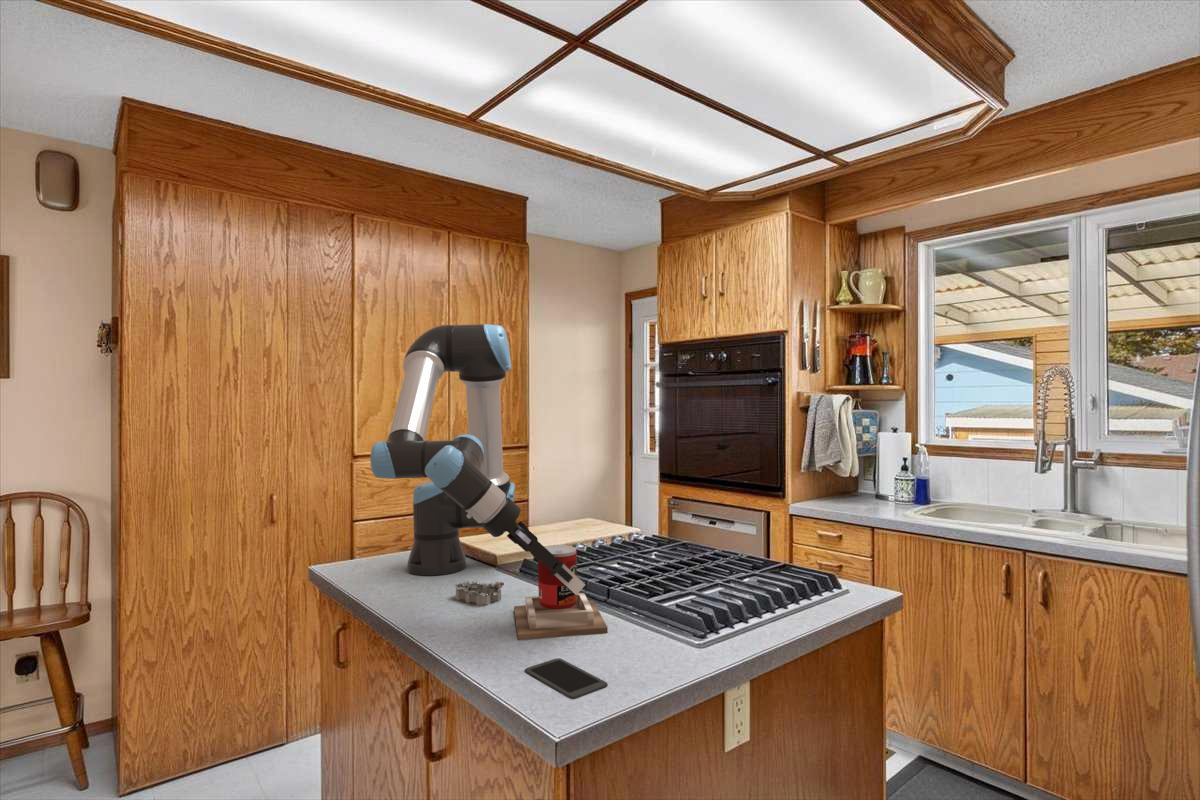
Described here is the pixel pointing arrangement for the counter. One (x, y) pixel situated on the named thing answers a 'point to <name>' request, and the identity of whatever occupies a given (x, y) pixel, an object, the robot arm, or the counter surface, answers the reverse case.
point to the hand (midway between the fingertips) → (573, 583)
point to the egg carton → (472, 592)
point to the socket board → (558, 619)
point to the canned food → (552, 588)
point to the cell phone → (566, 678)
